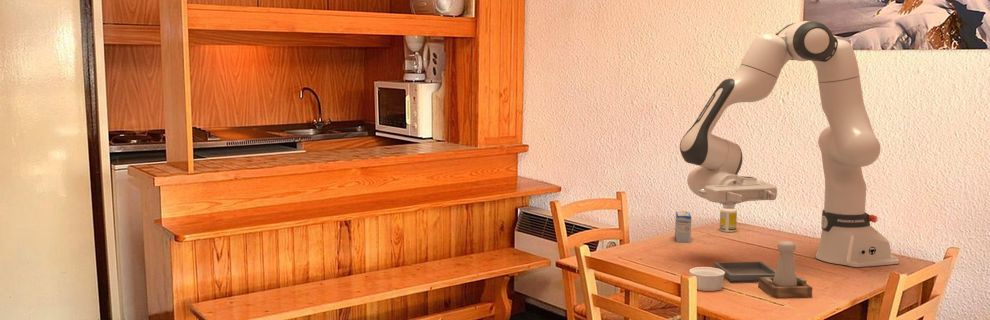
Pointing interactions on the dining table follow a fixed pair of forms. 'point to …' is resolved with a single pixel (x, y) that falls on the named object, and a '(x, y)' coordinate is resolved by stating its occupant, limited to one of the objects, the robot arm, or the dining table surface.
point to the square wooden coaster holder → (785, 288)
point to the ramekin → (708, 278)
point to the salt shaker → (785, 265)
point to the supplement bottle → (728, 218)
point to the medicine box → (683, 226)
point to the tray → (744, 271)
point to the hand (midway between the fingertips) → (758, 197)
